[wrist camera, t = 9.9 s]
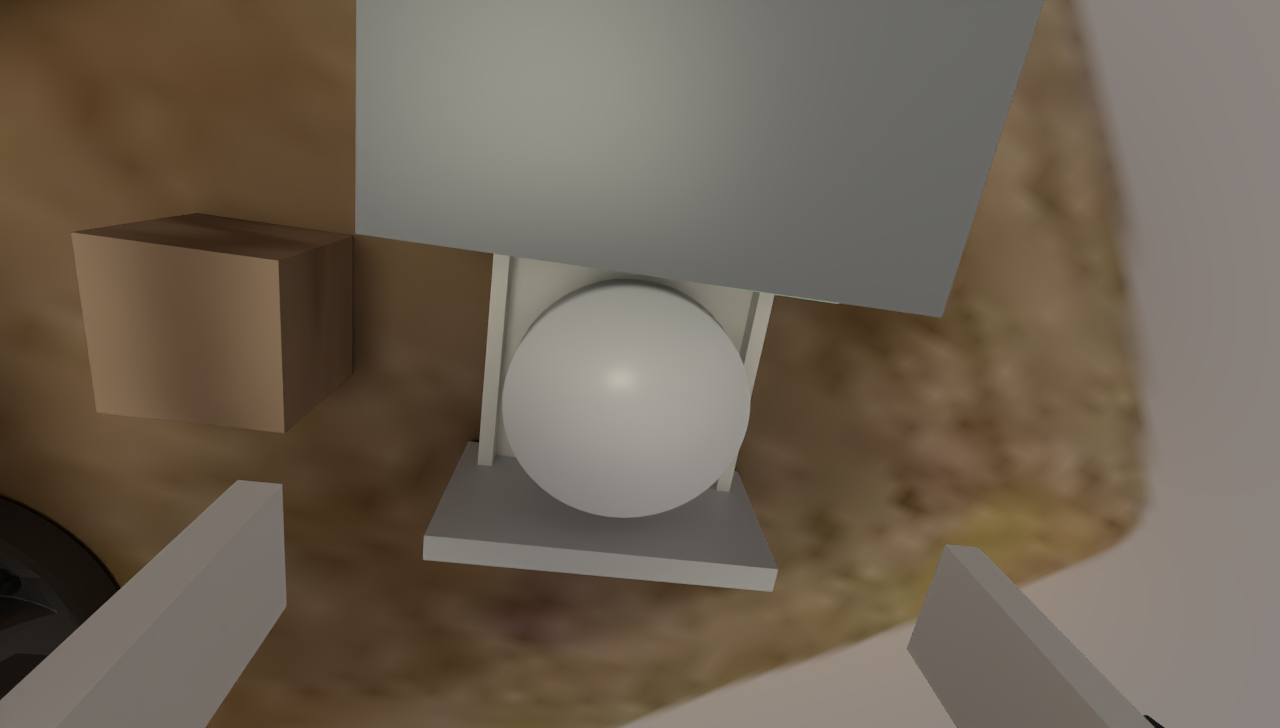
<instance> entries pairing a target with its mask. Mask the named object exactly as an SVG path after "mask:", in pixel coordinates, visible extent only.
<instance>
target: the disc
mask: <svg viewBox="0 0 1280 728" xmlns="http://www.w3.org/2000/svg"><path fill="white" fill-rule="evenodd" d="M502 413H503V421H504V427H505V431H506V435H507V438H508V441H509V444H510V446H511V448H512V451H513V453H514V455H515V456H516V458H517V460H518V461H519V463H520V465H521V466H522V468H523V469H524V470H525V471H526V473H527V474H528V475H529V476H530V478H531V479H532V480H533V481H535V482H536V483H537V484H538V485H539V486H540V487H541V488H542V489H543V490H545V491H546V492H547V493H549V494H550V495H551V496H553V497H554V498H556V499H558V500H559V501H561V502H563V503H565V504H567V505H569V506H571V507H574V508H576V509H578V510H581V511H584V512H588V513H591V514H595V515H601V516H607V517H619V518H630V517H642V516H648V515H654V514H658V513H661V512H665V511H668V510H671V509H673V508H676V507H678V506H680V505H683V504H685V503H686V502H688V501H690V500H692V499H694V498H695V497H697V496H698V495H700V494H701V493H702V492H704V491H705V490H707V489H708V488H709V487H710V486H711V485H712V484H713V483H714V482H716V481H717V480H718V479H719V478H720V477H721V475H722V474H723V473H724V472H725V471H726V469H727V468H728V467H729V466H730V464H731V463H732V461H733V459H734V458H735V456H736V455H737V453H738V451H739V449H740V446H741V444H742V442H743V440H744V436H745V433H746V430H747V427H748V421H749V415H750V389H749V382H748V378H747V374H746V370H745V367H744V365H743V362H742V360H741V358H740V355H739V353H738V351H737V350H736V348H735V346H734V345H733V343H732V342H731V340H730V338H729V337H728V335H727V334H726V332H725V331H724V329H723V327H722V326H721V325H720V324H719V322H718V321H717V320H716V319H715V317H714V316H713V315H712V314H711V313H710V312H709V311H708V310H707V309H706V308H705V307H703V306H702V305H701V304H700V303H698V302H697V301H696V300H694V299H693V298H691V297H690V296H688V295H686V294H684V293H682V292H681V291H679V290H677V289H675V288H672V287H669V286H666V285H664V284H661V283H656V282H652V281H647V280H639V279H612V280H606V281H601V282H596V283H593V284H589V285H586V286H583V287H580V288H578V289H576V290H574V291H572V292H570V293H568V294H566V295H564V296H563V297H561V298H560V299H558V300H557V301H555V302H554V303H552V304H551V305H550V306H549V307H548V308H546V309H545V310H544V311H543V312H542V313H541V314H540V315H539V316H538V317H537V318H536V320H535V321H534V322H533V323H532V324H531V326H530V327H529V329H528V330H527V332H526V333H525V335H524V336H523V338H522V340H521V342H520V344H519V346H518V348H517V351H516V353H515V355H514V357H513V359H512V362H511V364H510V366H509V369H508V373H507V376H506V379H505V383H504V389H503V396H502Z"/></svg>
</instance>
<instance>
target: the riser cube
mask: <svg viewBox="0 0 1280 728" xmlns="http://www.w3.org/2000/svg"><path fill="white" fill-rule="evenodd" d="M71 236H72V243H73V250H74V257H75V264H76V271H77V278H78V285H79V292H80V299H81V306H82V313H83V320H84V327H85V334H86V341H87V348H88V355H89V362H90V369H91V376H92V383H93V390H94V397H95V404H96V411H97V413H105V414H114V415H123V416H132V417H141V418H151V419H160V420H169V421H178V422H187V423H196V424H205V425H214V426H223V427H233V428H242V429H251V430H260V431H269V432H278V433H285V432H286V431H288V430H289V429H290V428H291V427H292V426H293V425H294V424H296V423H297V422H298V421H299V420H300V419H301V418H302V417H303V416H305V415H306V414H307V413H308V412H309V411H310V410H311V409H313V408H314V407H315V406H316V405H317V404H318V403H319V402H321V401H322V400H323V399H324V398H325V397H326V396H327V395H328V394H330V393H331V392H332V391H333V390H334V389H335V388H336V387H338V386H339V385H340V384H341V383H342V382H343V381H344V380H345V379H347V378H348V377H349V376H350V375H351V374H352V363H353V236H352V235H345V234H338V233H331V232H324V231H317V230H310V229H303V228H296V227H289V226H282V225H275V224H268V223H261V222H254V221H247V220H240V219H233V218H226V217H219V216H212V215H205V214H198V213H194V214H188V215H181V216H175V217H168V218H161V219H155V220H148V221H142V222H135V223H128V224H122V225H115V226H109V227H102V228H96V229H89V230H82V231H76V232H71Z"/></svg>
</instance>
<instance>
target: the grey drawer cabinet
mask: <svg viewBox="0 0 1280 728" xmlns="http://www.w3.org/2000/svg"><path fill="white" fill-rule="evenodd" d="M1043 2H1044V0H356V195H355V234H360V235H367V236H374V237H381V238H388V239H395V240H402V241H409V242H416V243H423V244H430V245H437V246H444V247H451V248H458V249H465V250H472V251H479V252H486V253H493V254H500V255H507V256H514V257H521V258H528V259H535V260H542V261H549V262H556V263H563V264H570V265H577V266H584V267H591V268H598V269H605V270H612V271H619V272H626V273H633V274H640V275H647V276H654V277H661V278H668V279H675V280H682V281H689V282H696V283H703V284H710V285H715V286H717V287H724V288H731V289H738V290H745V291H752V292H759V293H766V294H773V295H780V296H787V297H794V298H801V299H808V300H815V301H822V302H829V303H836V304H839V303H842V304H849V305H856V306H863V307H870V308H877V309H884V310H891V311H898V312H905V313H912V314H919V315H926V316H933V317H940V318H942V315H943V312H944V309H945V306H946V303H947V300H948V297H949V294H950V291H951V288H952V284H953V281H954V278H955V275H956V272H957V269H958V266H959V263H960V260H961V257H962V253H963V250H964V247H965V244H966V241H967V238H968V235H969V232H970V229H971V226H972V222H973V219H974V216H975V213H976V210H977V207H978V204H979V201H980V198H981V195H982V191H983V188H984V185H985V182H986V179H987V176H988V173H989V170H990V167H991V164H992V160H993V157H994V154H995V151H996V148H997V145H998V142H999V139H1000V136H1001V133H1002V129H1003V126H1004V123H1005V120H1006V117H1007V114H1008V111H1009V108H1010V105H1011V102H1012V98H1013V95H1014V92H1015V89H1016V86H1017V83H1018V80H1019V77H1020V74H1021V71H1022V67H1023V64H1024V61H1025V58H1026V55H1027V52H1028V49H1029V46H1030V43H1031V40H1032V36H1033V33H1034V30H1035V27H1036V24H1037V21H1038V18H1039V15H1040V12H1041V9H1042V5H1043Z"/></svg>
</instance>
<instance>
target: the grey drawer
mask: <svg viewBox="0 0 1280 728" xmlns="http://www.w3.org/2000/svg"><path fill="white" fill-rule="evenodd" d="M612 279H639V280H647V281H652V282H656V283H661V284H664V285H666V286H669V287H672V288H675V289H677V290H679V291H681V292H682V293H684V294H686V295H688V296H690V297H691V298H693V299H694V300H696V301H697V302H698V303H700V304H701V305H702V306H703V307H705V308H706V309H707V310H708V311H709V312H710V313H711V314H712V315H713V316H714V317H715V319H716V320H717V321H718V322H719V324H720V325H721V326H722V327H723V329H724V331H725V332H726V334H727V335H728V337H729V338H730V340H731V342H732V343H733V345H734V346H735V348H736V350H737V351H738V353H739V355H740V358H741V360H742V362H743V365H744V367H745V370H746V374H747V378H748V382H749V389H750V400H751V395H752V391H753V387H754V382H755V378H756V374H757V369H758V365H759V360H760V356H761V352H762V347H763V343H764V339H765V334H766V330H767V326H768V321H769V317H770V312H771V308H772V304H773V299H774V295H773V294H766V293H759V292H752V291H745V290H738V289H731V288H724V287H717V286H715V285H710V284H703V283H696V282H689V281H682V280H675V279H668V278H661V277H654V276H647V275H640V274H633V273H626V272H619V271H612V270H605V269H598V268H591V267H584V266H577V265H570V264H563V263H556V262H549V261H542V260H535V259H528V258H521V257H514V256H507V255H500V254H494V256H493V269H492V282H491V295H490V308H489V321H488V334H487V347H486V360H485V373H484V386H483V399H482V412H481V425H480V438H479V442H471V441H468V443H467V445H466V447H465V449H464V451H463V453H462V456H461V458H460V460H459V462H458V464H457V466H456V468H455V470H454V473H453V475H452V477H451V479H450V481H449V483H448V485H447V487H446V490H445V492H444V494H443V496H442V498H441V500H440V502H439V505H438V507H437V509H436V511H435V513H434V515H433V517H432V519H431V522H430V524H429V526H428V528H427V530H426V532H425V534H424V546H423V560H431V561H442V562H453V563H464V564H475V565H486V566H497V567H508V568H518V569H529V570H540V571H551V572H562V573H573V574H584V575H595V576H606V577H617V578H627V579H638V580H649V581H660V582H671V583H682V584H693V585H704V586H715V587H726V588H736V589H747V590H758V591H769V592H772V591H773V588H774V584H775V580H776V576H777V573H778V567H777V565H776V562H775V560H774V557H773V555H772V553H771V550H770V548H769V545H768V543H767V541H766V538H765V536H764V533H763V531H762V529H761V526H760V524H759V521H758V519H757V517H756V514H755V512H754V509H753V507H752V505H751V502H750V500H749V497H748V495H747V493H746V490H745V488H744V485H743V483H742V480H741V478H740V476H739V473H738V471H734V470H735V465H736V461H737V457H738V453H737V455H736V456H735V458H734V459H733V461H732V463H731V464H730V466H729V467H728V468H727V469H726V471H725V472H724V473H723V474H722V475H721V477H720V478H719V479H718V480H717V481H716V482H714V483H713V484H712V485H711V486H710V487H709V488H708V489H707V490H705V491H704V492H702V493H701V494H700V495H698V496H697V497H695V498H694V499H692V500H690V501H688V502H686V503H685V504H683V505H680V506H678V507H676V508H673V509H671V510H668V511H665V512H661V513H658V514H654V515H648V516H642V517H630V518H619V517H607V516H601V515H595V514H591V513H588V512H584V511H581V510H578V509H576V508H574V507H571V506H569V505H567V504H565V503H563V502H561V501H559V500H558V499H556V498H554V497H553V496H551V495H550V494H549V493H547V492H546V491H545V490H543V489H542V488H541V487H540V486H539V485H538V484H537V483H536V482H535V481H533V480H532V479H531V478H530V476H529V475H528V474H527V473H526V471H525V470H524V469H523V468H522V466H521V465H520V463H519V461H518V460H517V458H516V456H515V455H514V453H513V451H512V448H511V446H510V444H509V441H508V438H507V435H506V431H505V427H504V421H503V413H502V396H503V389H504V383H505V379H506V376H507V373H508V369H509V366H510V364H511V362H512V359H513V357H514V355H515V353H516V351H517V348H518V346H519V344H520V342H521V340H522V338H523V336H524V335H525V333H526V332H527V330H528V329H529V327H530V326H531V324H532V323H533V322H534V321H535V320H536V318H537V317H538V316H539V315H540V314H541V313H542V312H543V311H544V310H545V309H546V308H548V307H549V306H550V305H551V304H552V303H554V302H555V301H557V300H558V299H560V298H561V297H563V296H564V295H566V294H568V293H570V292H572V291H574V290H576V289H578V288H580V287H583V286H586V285H589V284H593V283H596V282H601V281H606V280H612ZM738 452H739V451H738Z"/></svg>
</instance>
